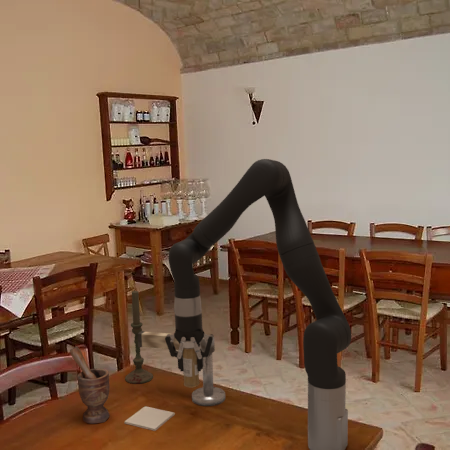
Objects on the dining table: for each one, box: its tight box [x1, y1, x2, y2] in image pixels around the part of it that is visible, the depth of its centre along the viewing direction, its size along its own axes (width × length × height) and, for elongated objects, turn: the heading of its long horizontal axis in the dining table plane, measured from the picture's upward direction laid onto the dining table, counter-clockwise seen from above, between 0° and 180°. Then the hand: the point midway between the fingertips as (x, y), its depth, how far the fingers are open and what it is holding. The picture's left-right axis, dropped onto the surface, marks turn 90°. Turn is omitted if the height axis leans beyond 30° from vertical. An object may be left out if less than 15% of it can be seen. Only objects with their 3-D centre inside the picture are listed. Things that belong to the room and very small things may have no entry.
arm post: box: [191, 353, 226, 407], centre depth 172 cm, size 10×10×14 cm
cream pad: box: [124, 405, 176, 432], centre depth 161 cm, size 10×10×1 cm
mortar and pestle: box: [69, 346, 110, 424], centre depth 161 cm, size 12×9×20 cm
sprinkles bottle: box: [182, 341, 200, 389], centre depth 161 cm, size 5×5×14 cm
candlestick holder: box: [124, 289, 154, 385], centre depth 186 cm, size 9×9×30 cm
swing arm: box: [138, 330, 216, 354], centre depth 173 cm, size 24×4×4 cm, turn 74°
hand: (190, 370), depth 162 cm, fingers closed on sprinkles bottle, 4 cm apart
